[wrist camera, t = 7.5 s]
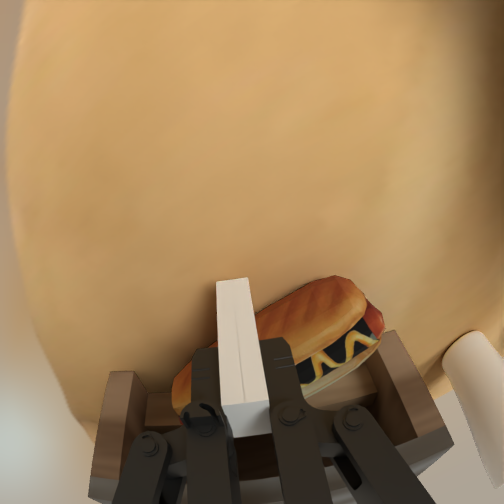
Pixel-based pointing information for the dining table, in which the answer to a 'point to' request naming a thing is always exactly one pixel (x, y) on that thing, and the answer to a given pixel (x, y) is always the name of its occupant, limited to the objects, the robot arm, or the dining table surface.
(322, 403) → the gray-topped wooden box
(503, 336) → the dining table surface
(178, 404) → the hot dog
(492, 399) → the white tapered cylinder
